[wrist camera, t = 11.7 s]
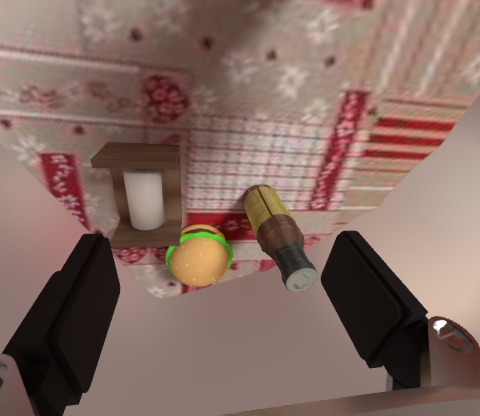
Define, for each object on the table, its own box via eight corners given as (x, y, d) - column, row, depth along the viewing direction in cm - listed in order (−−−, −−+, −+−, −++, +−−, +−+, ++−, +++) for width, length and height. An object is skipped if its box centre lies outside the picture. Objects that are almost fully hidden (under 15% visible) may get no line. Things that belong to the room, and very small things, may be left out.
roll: (128, 160, 36) (117, 174, 32) (163, 162, 37) (156, 175, 33) (135, 212, 41) (127, 230, 37) (166, 213, 42) (161, 231, 37)
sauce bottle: (246, 215, 46) (275, 307, 29) (238, 188, 43) (265, 273, 26) (279, 205, 46) (327, 292, 29) (274, 177, 42) (324, 256, 26)
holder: (108, 142, 35) (90, 159, 29) (179, 145, 37) (175, 162, 31) (123, 221, 42) (111, 248, 37) (181, 220, 44) (179, 246, 38)
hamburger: (168, 265, 50) (164, 301, 43) (166, 217, 43) (160, 249, 36) (227, 264, 52) (232, 297, 45) (232, 217, 46) (239, 248, 39)
